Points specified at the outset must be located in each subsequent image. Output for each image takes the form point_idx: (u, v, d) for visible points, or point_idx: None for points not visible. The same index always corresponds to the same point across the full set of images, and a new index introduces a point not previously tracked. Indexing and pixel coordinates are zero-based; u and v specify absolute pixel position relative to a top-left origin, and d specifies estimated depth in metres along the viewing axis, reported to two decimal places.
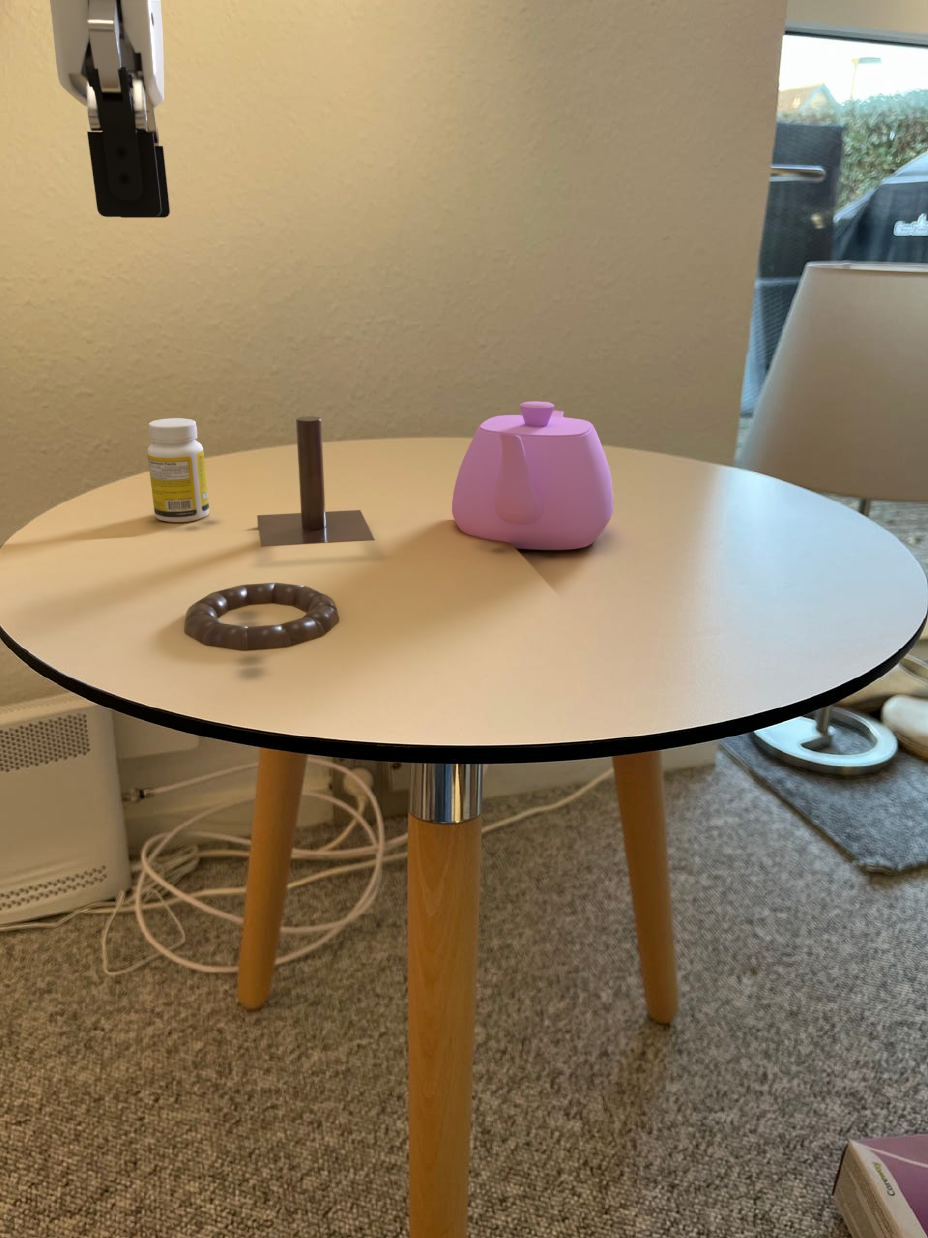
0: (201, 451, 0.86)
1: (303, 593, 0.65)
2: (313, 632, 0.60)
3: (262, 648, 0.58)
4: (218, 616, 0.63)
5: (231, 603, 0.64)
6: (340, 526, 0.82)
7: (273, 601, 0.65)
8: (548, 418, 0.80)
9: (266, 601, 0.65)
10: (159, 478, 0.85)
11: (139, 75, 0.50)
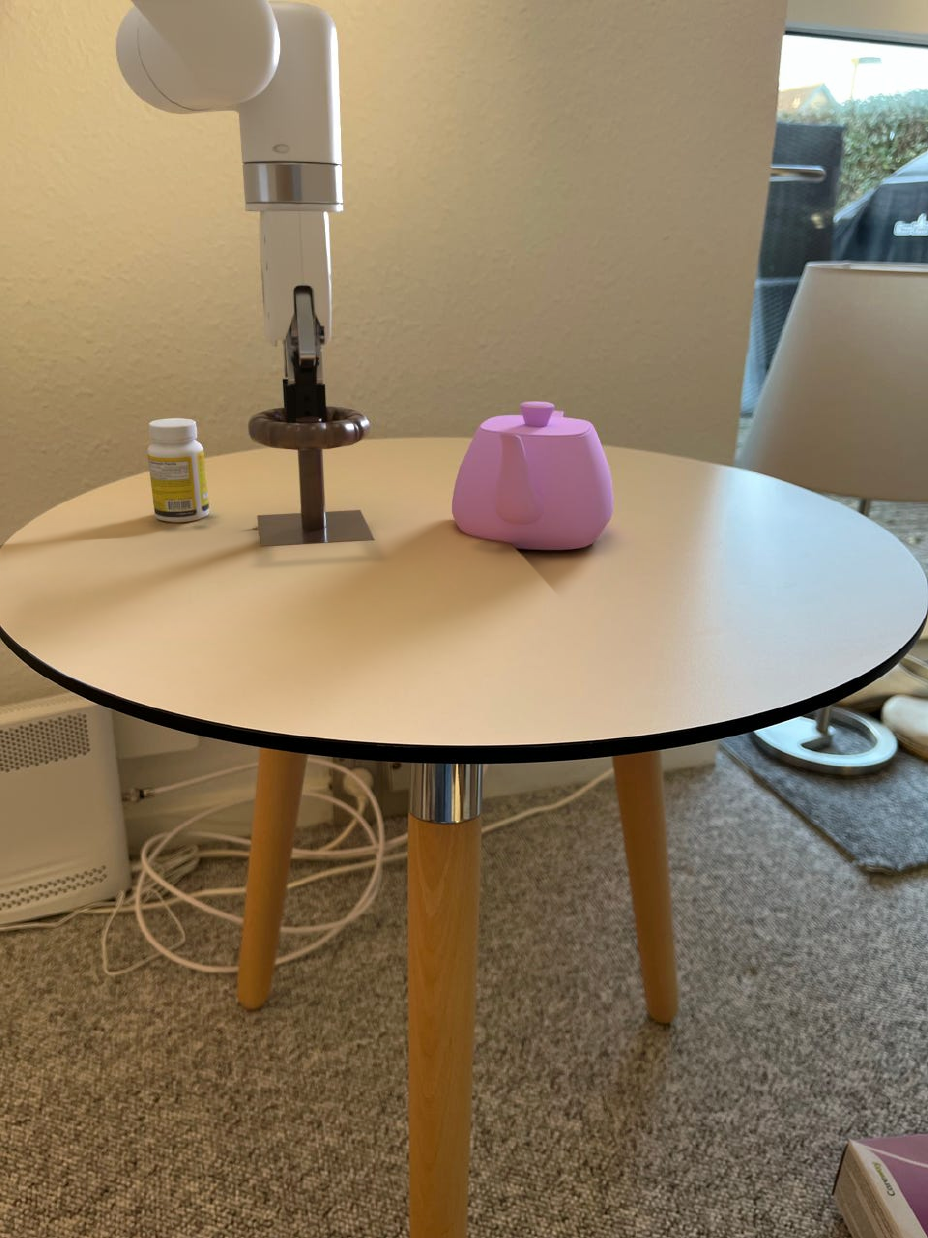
0: (201, 451, 0.86)
1: (340, 410, 0.81)
2: (350, 430, 0.76)
3: (311, 438, 0.75)
4: None
5: (283, 417, 0.81)
6: (340, 526, 0.82)
7: None
8: (548, 418, 0.80)
9: None
10: (159, 478, 0.85)
11: (321, 338, 0.76)
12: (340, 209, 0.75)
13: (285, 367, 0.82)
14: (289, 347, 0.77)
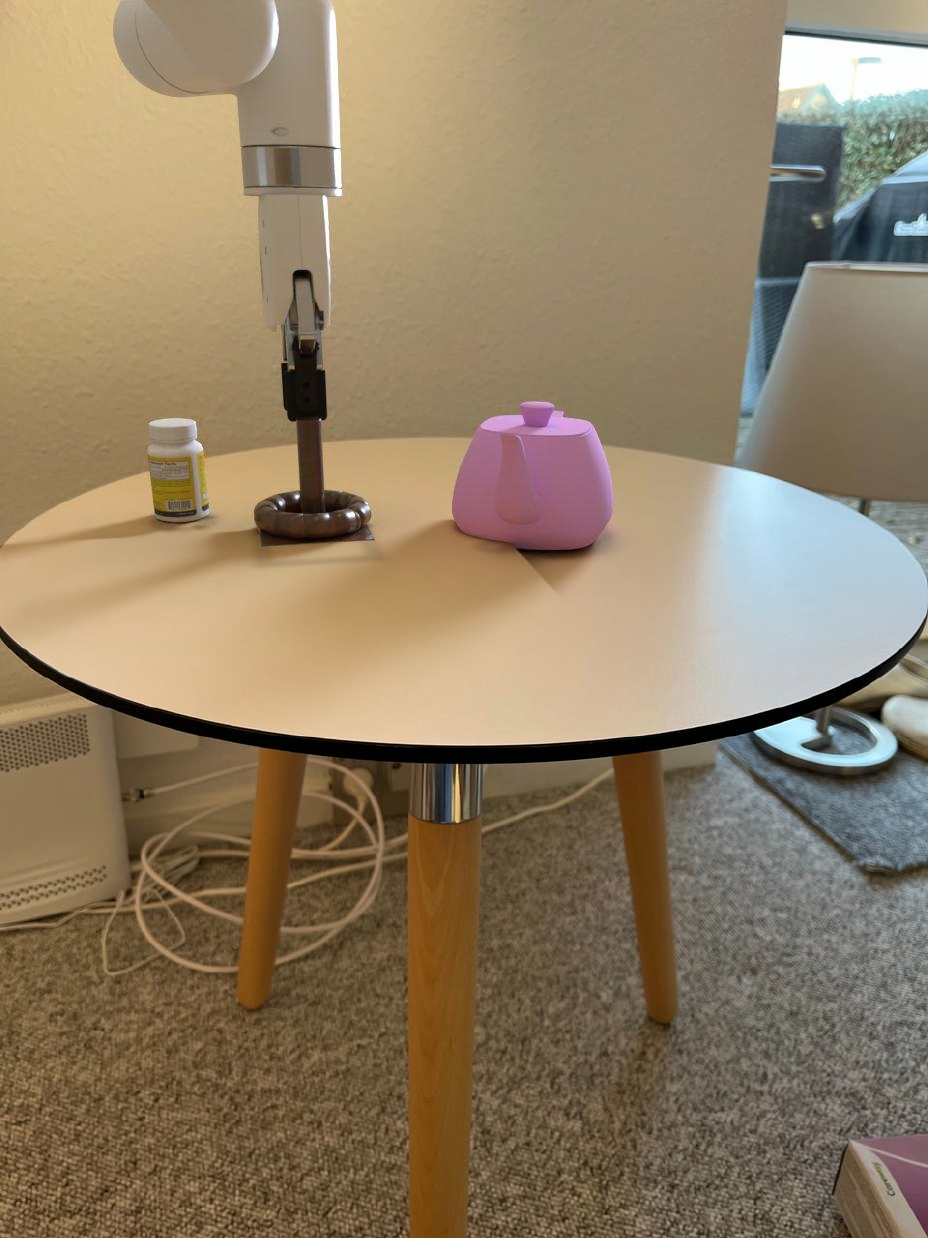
0: (201, 451, 0.86)
1: (343, 495, 0.84)
2: (352, 519, 0.79)
3: (314, 529, 0.78)
4: (279, 511, 0.82)
5: (288, 502, 0.84)
6: None
7: None
8: (548, 418, 0.80)
9: None
10: (159, 478, 0.85)
11: (320, 323, 0.76)
12: (339, 193, 0.75)
13: (283, 352, 0.82)
14: (288, 331, 0.77)
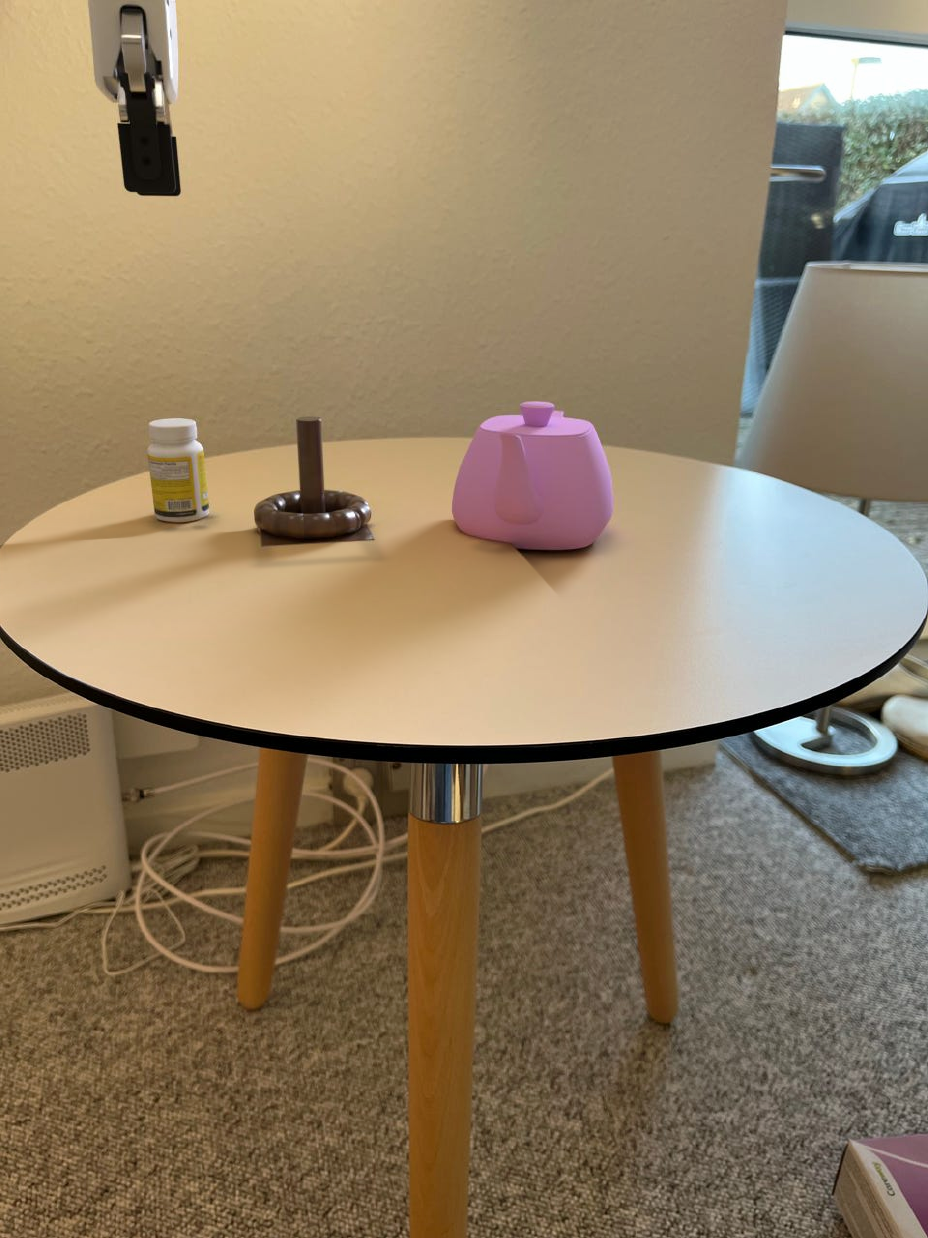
0: (201, 451, 0.86)
1: (343, 495, 0.84)
2: (352, 519, 0.79)
3: (314, 529, 0.78)
4: (279, 511, 0.82)
5: (288, 502, 0.84)
6: None
7: None
8: (548, 418, 0.80)
9: None
10: (159, 478, 0.85)
11: (159, 78, 0.62)
12: None
13: None
14: (120, 73, 0.62)
